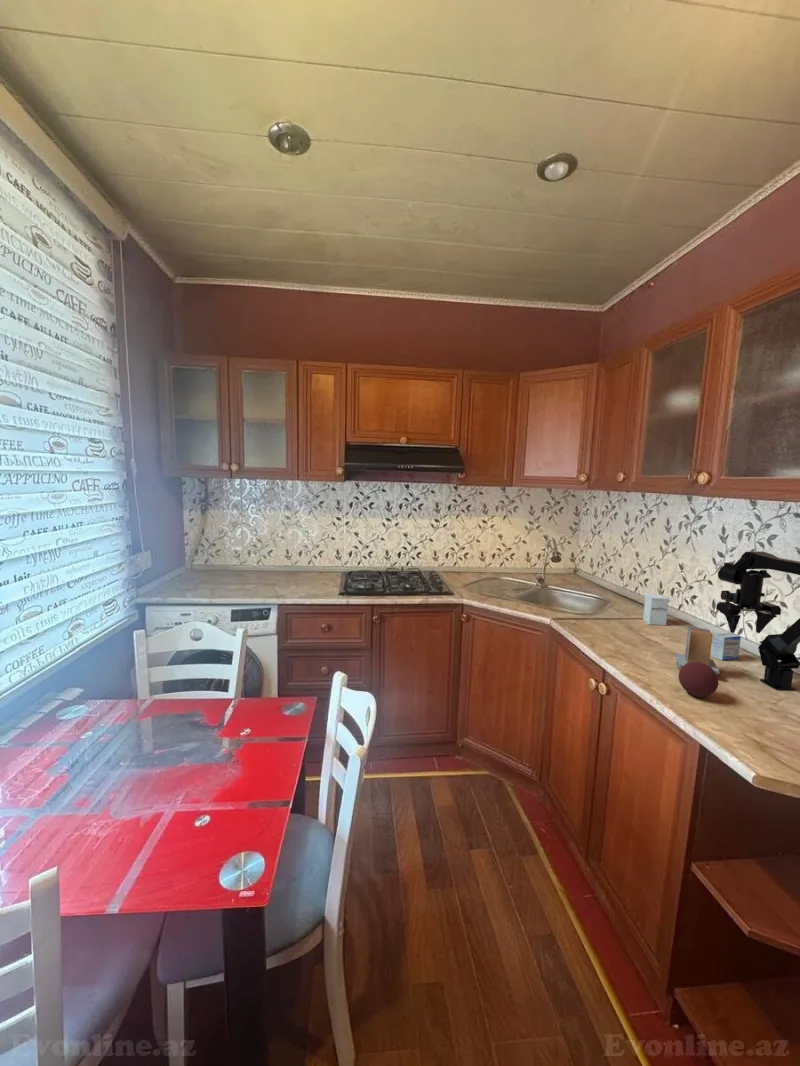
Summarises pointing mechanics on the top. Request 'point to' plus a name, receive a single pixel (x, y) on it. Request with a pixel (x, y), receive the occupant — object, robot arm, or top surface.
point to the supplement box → (655, 609)
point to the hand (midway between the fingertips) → (744, 632)
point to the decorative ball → (698, 679)
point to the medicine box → (725, 646)
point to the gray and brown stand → (682, 661)
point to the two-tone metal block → (698, 645)
